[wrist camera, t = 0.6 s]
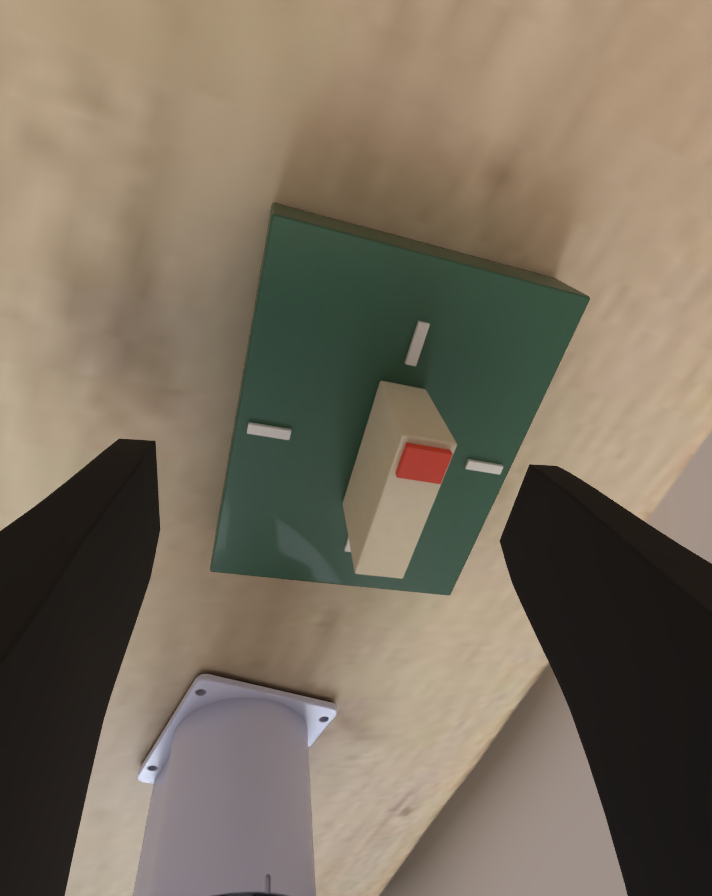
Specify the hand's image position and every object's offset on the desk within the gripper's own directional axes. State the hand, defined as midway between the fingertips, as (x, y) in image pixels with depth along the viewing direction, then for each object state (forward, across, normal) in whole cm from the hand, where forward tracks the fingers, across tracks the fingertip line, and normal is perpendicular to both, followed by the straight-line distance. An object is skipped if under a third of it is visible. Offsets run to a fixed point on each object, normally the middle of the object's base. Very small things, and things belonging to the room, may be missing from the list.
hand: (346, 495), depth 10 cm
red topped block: (+7, -3, +3) cm, 8 cm away
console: (+10, -2, +3) cm, 10 cm away
